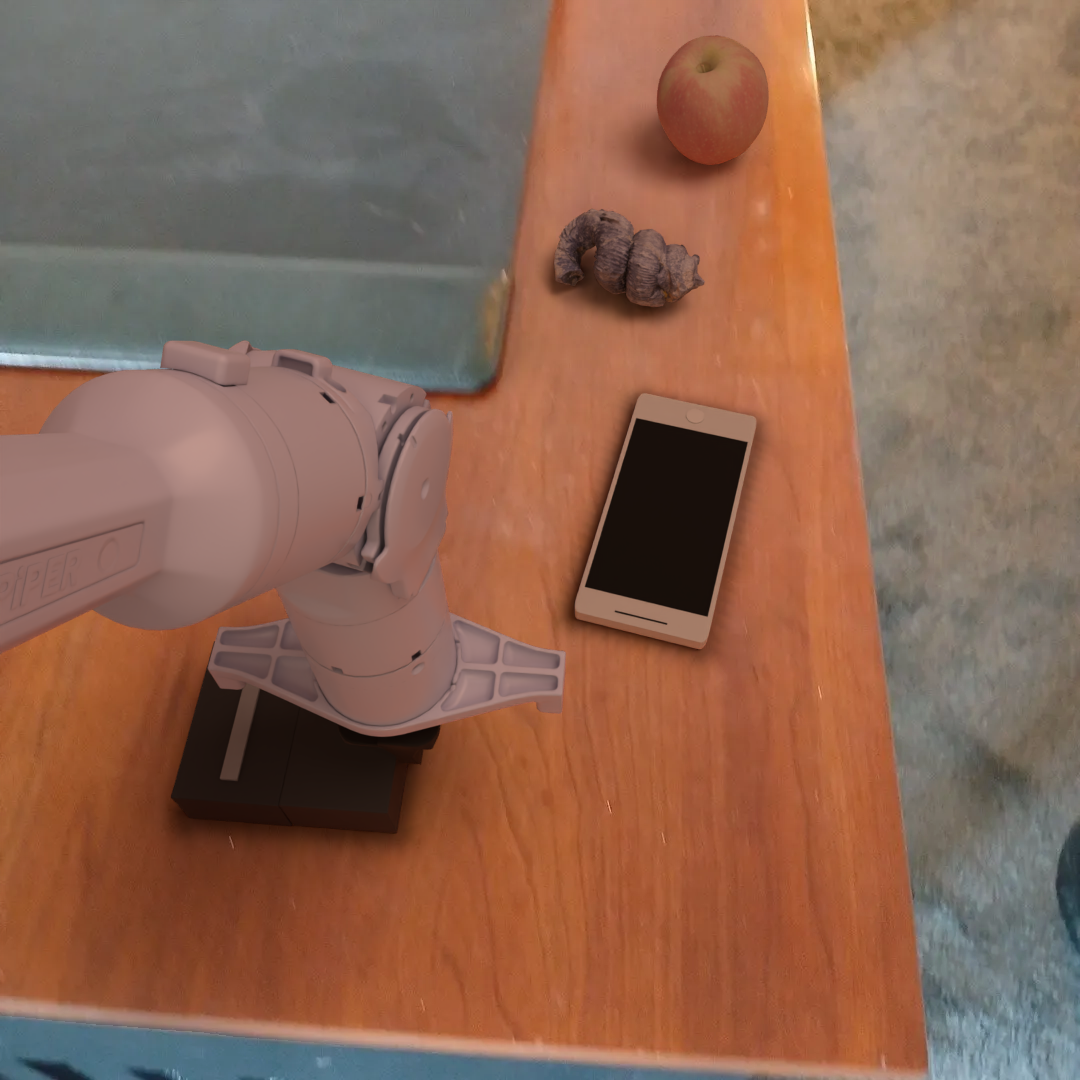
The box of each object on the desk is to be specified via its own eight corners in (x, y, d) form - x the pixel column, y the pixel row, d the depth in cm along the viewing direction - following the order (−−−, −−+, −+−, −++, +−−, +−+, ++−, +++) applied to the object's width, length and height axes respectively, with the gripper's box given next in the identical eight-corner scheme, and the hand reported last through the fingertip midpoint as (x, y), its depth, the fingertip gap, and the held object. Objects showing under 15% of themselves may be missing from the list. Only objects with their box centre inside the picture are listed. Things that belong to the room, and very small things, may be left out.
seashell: (552, 285, 71) (695, 327, 69) (535, 271, 66) (689, 315, 64) (576, 207, 70) (721, 247, 69) (561, 186, 65) (717, 229, 63)
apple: (650, 117, 79) (659, 14, 72) (753, 117, 78) (772, 14, 72) (653, 188, 74) (663, 85, 68) (762, 189, 74) (783, 86, 67)
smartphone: (756, 425, 63) (758, 415, 62) (704, 651, 55) (707, 643, 54) (638, 400, 64) (639, 390, 63) (571, 618, 56) (572, 609, 55)
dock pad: (292, 826, 50) (277, 804, 48) (189, 818, 50) (168, 796, 48) (324, 673, 54) (312, 645, 52) (229, 666, 55) (212, 638, 52)
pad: (397, 833, 50) (387, 813, 47) (293, 826, 50) (278, 805, 48) (421, 679, 54) (413, 653, 52) (325, 672, 55) (313, 646, 52)
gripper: (572, 530, 41) (569, 679, 53) (207, 506, 42) (282, 658, 53) (558, 697, 37) (558, 818, 49) (157, 667, 38) (250, 793, 50)
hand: (413, 744), depth 51 cm, fingers closed, pressing on pad
